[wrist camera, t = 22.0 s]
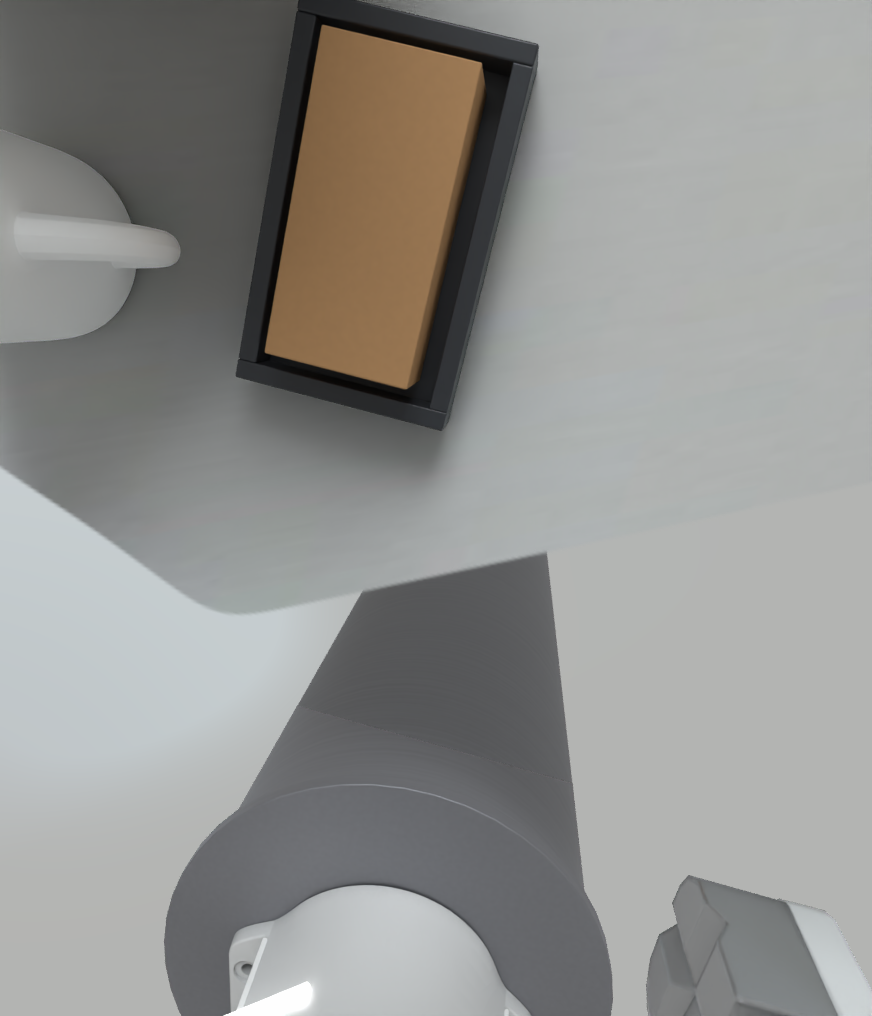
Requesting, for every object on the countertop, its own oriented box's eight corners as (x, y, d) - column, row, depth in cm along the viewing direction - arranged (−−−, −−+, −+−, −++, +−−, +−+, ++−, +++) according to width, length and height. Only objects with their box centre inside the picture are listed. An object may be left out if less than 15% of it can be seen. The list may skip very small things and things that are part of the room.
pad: (487, 94, 30) (482, 62, 26) (419, 381, 34) (406, 390, 30) (346, 60, 31) (321, 23, 27) (292, 348, 34) (263, 352, 30)
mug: (222, 161, 33) (93, 95, 23) (222, 352, 35) (104, 368, 25) (-33, 145, 34) (-263, 75, 24) (-18, 331, 36) (-222, 339, 26)
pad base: (448, 422, 35) (442, 431, 32) (255, 372, 35) (235, 376, 32) (537, 65, 30) (539, 43, 28) (317, 12, 31) (299, -14, 28)
